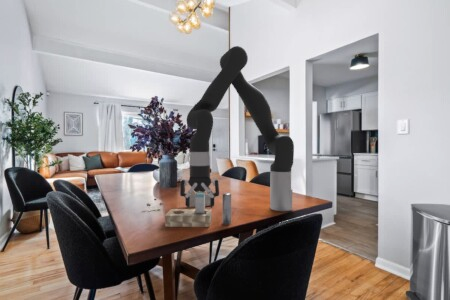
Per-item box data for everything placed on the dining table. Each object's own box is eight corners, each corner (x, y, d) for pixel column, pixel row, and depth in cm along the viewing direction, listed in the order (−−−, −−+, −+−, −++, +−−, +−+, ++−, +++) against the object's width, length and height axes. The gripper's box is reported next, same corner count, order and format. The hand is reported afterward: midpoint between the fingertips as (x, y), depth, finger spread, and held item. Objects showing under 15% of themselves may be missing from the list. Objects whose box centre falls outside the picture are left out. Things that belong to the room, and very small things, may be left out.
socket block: (211, 219, 93) (211, 209, 92) (209, 226, 85) (209, 215, 84) (170, 219, 93) (170, 209, 93) (165, 226, 85) (165, 215, 85)
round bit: (231, 221, 90) (231, 193, 90) (231, 224, 87) (231, 194, 86) (222, 221, 90) (222, 193, 90) (222, 224, 87) (222, 194, 87)
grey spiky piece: (208, 206, 108) (200, 186, 109) (189, 214, 112) (181, 193, 113) (219, 200, 120) (212, 181, 121) (202, 206, 124) (195, 188, 125)
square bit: (204, 221, 90) (204, 192, 90) (204, 224, 87) (203, 194, 87) (196, 221, 90) (196, 192, 90) (195, 224, 87) (195, 194, 87)
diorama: (143, 214, 101) (143, 206, 101) (146, 200, 127) (146, 193, 127) (166, 212, 104) (165, 204, 104) (164, 198, 129) (163, 192, 129)
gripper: (219, 163, 92) (219, 204, 92) (182, 163, 92) (183, 204, 92) (218, 164, 84) (218, 210, 85) (178, 164, 84) (178, 210, 85)
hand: (200, 207), depth 89 cm, fingers open, 8 cm apart
